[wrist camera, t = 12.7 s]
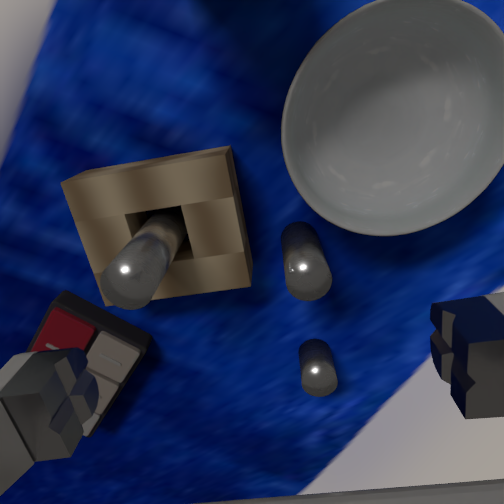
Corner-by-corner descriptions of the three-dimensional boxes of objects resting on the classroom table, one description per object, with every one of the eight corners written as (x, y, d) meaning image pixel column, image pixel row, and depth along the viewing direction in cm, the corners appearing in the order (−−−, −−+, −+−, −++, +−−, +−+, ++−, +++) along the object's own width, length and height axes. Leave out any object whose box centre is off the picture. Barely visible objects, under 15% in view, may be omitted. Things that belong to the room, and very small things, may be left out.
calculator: (146, 353, 41) (87, 444, 46) (156, 331, 45) (101, 416, 50) (48, 303, 39) (-3, 403, 44) (67, 284, 43) (19, 378, 48)
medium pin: (315, 219, 38) (330, 258, 30) (318, 252, 40) (333, 298, 31) (279, 223, 39) (284, 263, 30) (282, 256, 40) (288, 303, 32)
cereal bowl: (421, -42, 30) (463, -77, 23) (506, 141, 35) (561, 155, 28) (241, 97, 34) (235, 101, 28) (340, 243, 39) (354, 274, 33)
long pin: (187, 198, 38) (145, 257, 25) (195, 233, 39) (160, 305, 26) (151, 204, 38) (92, 265, 25) (161, 238, 40) (109, 312, 27)
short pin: (328, 337, 44) (336, 366, 39) (331, 363, 45) (339, 394, 40) (296, 340, 44) (299, 370, 39) (300, 366, 45) (304, 398, 41)
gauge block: (230, 145, 36) (224, 154, 31) (252, 263, 40) (250, 286, 36) (86, 170, 37) (60, 182, 33) (123, 281, 42) (105, 306, 37)
